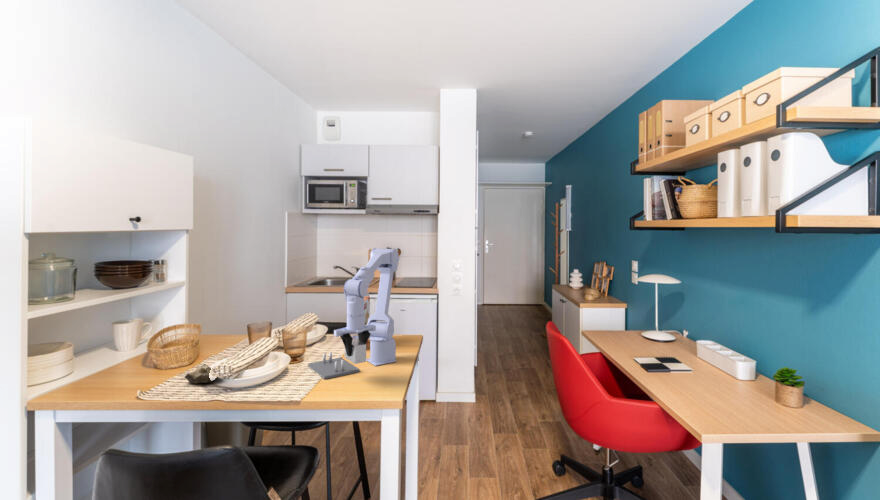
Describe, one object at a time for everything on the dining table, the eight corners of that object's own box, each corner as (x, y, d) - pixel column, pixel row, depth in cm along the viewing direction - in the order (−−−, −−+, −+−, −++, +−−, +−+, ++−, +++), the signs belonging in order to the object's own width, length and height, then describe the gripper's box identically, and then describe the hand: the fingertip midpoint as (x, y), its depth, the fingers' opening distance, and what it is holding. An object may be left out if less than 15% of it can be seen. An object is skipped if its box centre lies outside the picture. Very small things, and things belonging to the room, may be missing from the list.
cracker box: (363, 350, 172) (364, 301, 170) (349, 350, 172) (349, 301, 170) (369, 341, 186) (370, 295, 184) (356, 341, 186) (356, 295, 184)
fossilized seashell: (178, 380, 130) (210, 385, 130) (187, 359, 133) (218, 364, 134) (188, 384, 136) (218, 389, 137) (196, 364, 140) (226, 369, 140)
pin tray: (340, 359, 160) (341, 348, 159) (359, 372, 147) (359, 359, 147) (308, 366, 152) (308, 354, 151) (324, 379, 139) (324, 366, 139)
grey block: (355, 355, 143) (355, 338, 143) (366, 361, 137) (366, 344, 137) (344, 357, 141) (344, 340, 141) (355, 364, 134) (355, 346, 134)
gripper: (340, 319, 130) (339, 361, 131) (380, 314, 139) (379, 353, 140) (331, 315, 136) (331, 355, 137) (370, 310, 145) (369, 348, 146)
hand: (355, 354), depth 139 cm, fingers closed on grey block, 4 cm apart
